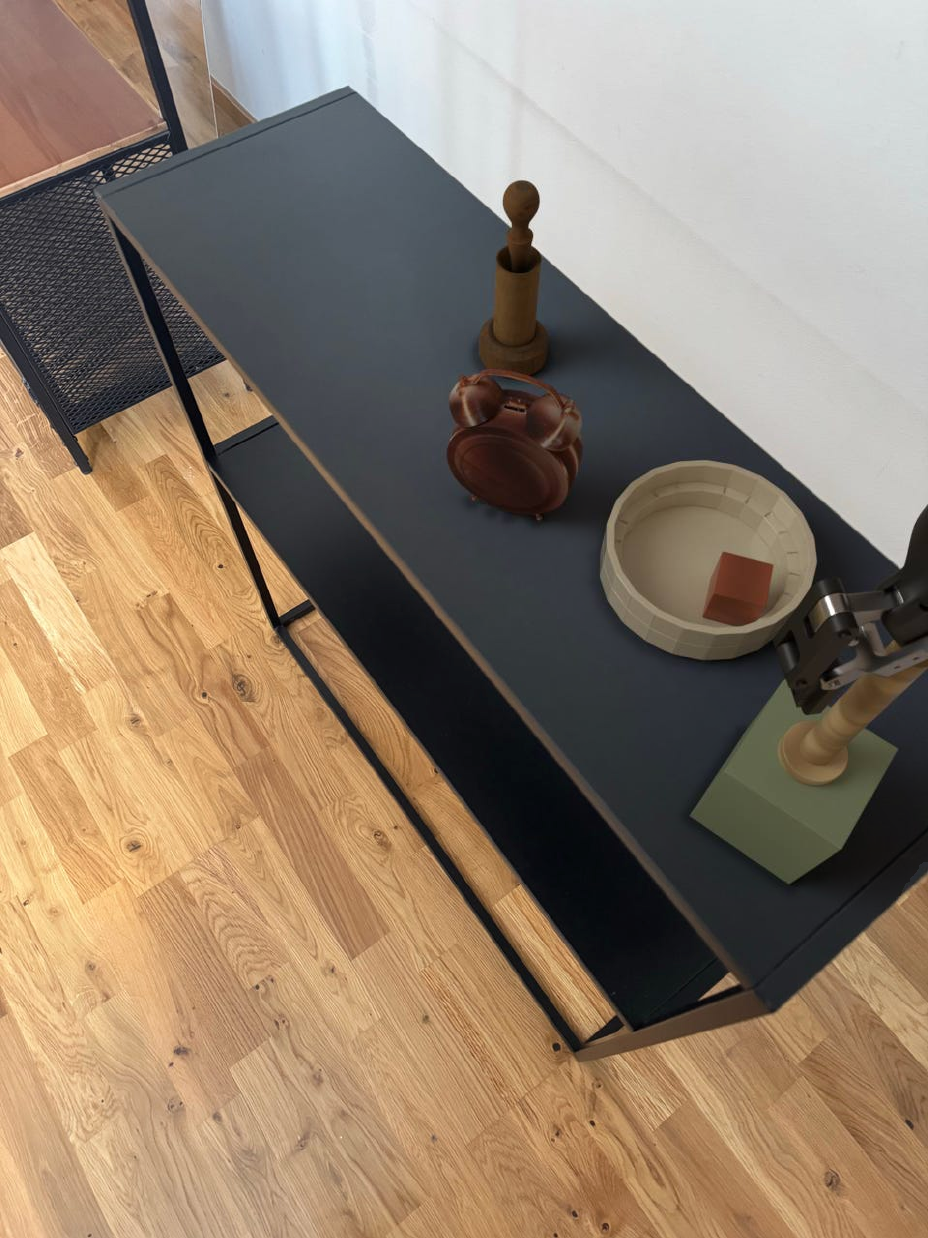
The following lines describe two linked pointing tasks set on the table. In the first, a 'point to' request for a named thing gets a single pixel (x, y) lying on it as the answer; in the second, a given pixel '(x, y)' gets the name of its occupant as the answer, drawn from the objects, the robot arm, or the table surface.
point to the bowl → (702, 555)
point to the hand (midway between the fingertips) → (883, 687)
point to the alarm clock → (514, 443)
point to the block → (737, 590)
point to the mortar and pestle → (516, 292)
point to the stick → (841, 726)
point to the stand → (789, 794)
